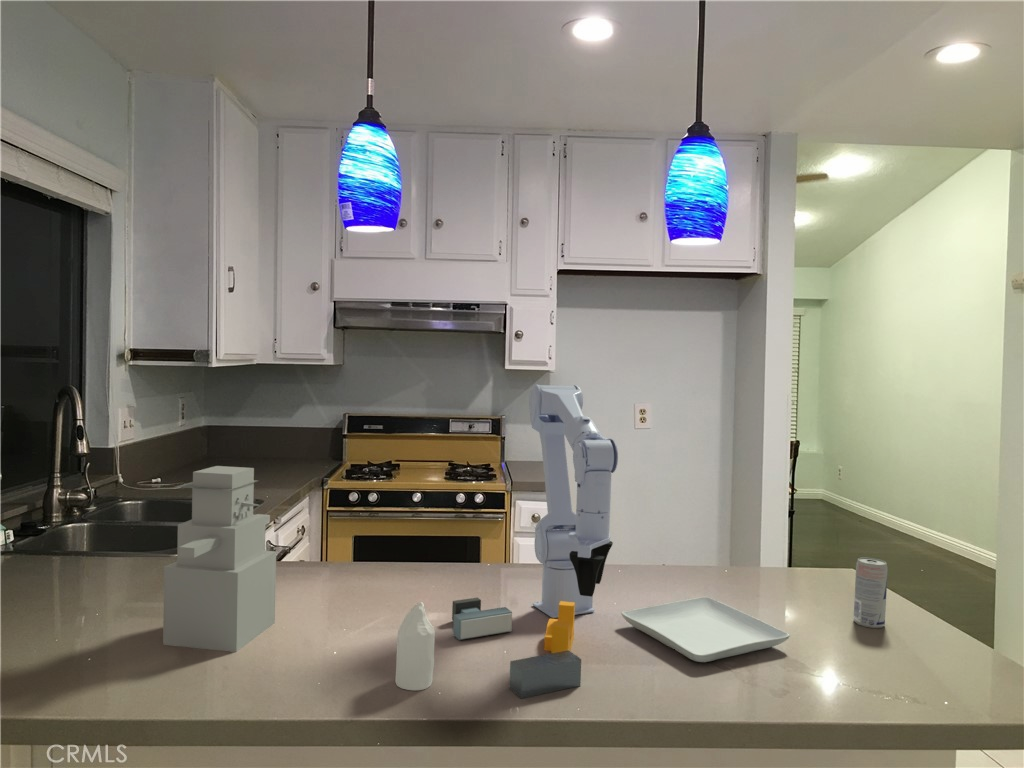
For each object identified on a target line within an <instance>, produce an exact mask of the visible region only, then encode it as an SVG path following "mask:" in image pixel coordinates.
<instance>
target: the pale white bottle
mask: <svg viewBox="0 0 1024 768" xmlns="http://www.w3.org/2000/svg"><path fill="white" fill-rule="evenodd" d="M435 632H436V629H435V627H434V626H433V625H432V624H431V622H430V620H429V618H428V617H427V613H426V610H425V605H424V602H422V601H421V602H418V603H417V604H415V605H413V607H412V608H411V609H410V611H408V613H406V614H405V616H404V618H403V620H402V622H401V624H400V626H399V628H398V630H397V639H396V642H397V643H396V658H395V659H396V663H395V666H396V667H395V684H396V686H397V687H398V688H400V689H403V690H407V691H423V690H427V689H428V688H430V687H431V686H432V684H433V673H434V666H435V639H436V636H435V634H436V633H435Z"/></svg>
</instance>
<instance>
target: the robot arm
mask: <svg viewBox="0 0 1024 768" xmlns="http://www.w3.org/2000/svg"><path fill="white" fill-rule="evenodd" d="M583 395H584V394H583V391H582V389H581V388H580V387H579V385H577V384H575V385H551V384H550V385H545V384H543V385H540V384H538V383H537V384H534V385H533V386H532V387H531V389H530V392H529V400H528V409H529V419H530V423H531V428H532V429H533V430H535V431H536V432H538V433H539V438H540V443H541V455H542V463H543V474H544V487H545V496H546V497H545V499H546V506H547V507H546V509H547V513H546V515H544V516H543V517H542V518H541V519H540V520H538V522H537V523H536V526H535V527H534V535H535V536H534V552H535V553H534V554H535V557H536V560H537V561H538V562H539V563H540V564H542V579H541V580H542V581H541V584H542V585H541V601H537V602H532V606H534V608H536V609H538V610H540V611H541V612H543V614H546V615H547V616H549V617H550V618H551V619H558V614H559V603H560V601H565V602H575V616H576V615H577V616H578V615H583V614H588V613H594V612H595V608H594V607H593V602H594V601H593V596H594V594H595V589H596V585H600V584H601V582H602V579H603V573H604V568H605V564H606V560H607V558H608V555H609V553H610V550H611V549H612V547H613V544H614V542H613V541H611V536H610V524H611V523H610V521H611V501H612V500H611V498H612V495H611V494H612V474H614V473H615V472H616V470H617V466H618V462H619V452H618V448H617V447H618V446H617V444H616V442H615V440H614V438H608V437H604V436H603V435H602V433H601V431H600V430H599V429H598V427H597V425H596V423H595V422H594V420H593V419H592V418H590V417H589V416H588V415H584V413H583V410H582V409H583V405H584V396H583ZM565 438H566V441H567V442H568V444H569V446H570V448H571V450H572V452H573V453H572V460H573V461H572V463H573V467H574V469H573V470H574V481H575V483H576V507H575V508H576V509H575V510H576V511H575V512H573V508H572V507H573V506H572V497H571V489H570V480H569V478H570V477H569V471H568V470H569V468H568V467H569V466H568V460H567V459H568V458H567V451H566V441H565Z"/></svg>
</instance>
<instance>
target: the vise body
mask: <svg viewBox="0 0 1024 768" xmlns="http://www.w3.org/2000/svg"><path fill="white" fill-rule="evenodd" d="M509 663H510V664H509V689H510V690H511V691H512V692H513V693H514V694H516V696H517V697H518V698H520V699H526V698H530V697H531V698H532V697H535V696H540V695H546V694H548V693H554V692H558V691H562V690H567V689H572V688H577V687H580V686H581V681H582V678H581V677H582V675H581V674H582V659H581V658H580V657H578V656H577V655H576V654H574V653H573V652H572V651H571V652H570V651H569V650H567V651H562V652H557V653H551V652H550V653H547V654H542V655H535V656H530V657H526V658H521V659H516V660H515V659H514V660H510V662H509Z"/></svg>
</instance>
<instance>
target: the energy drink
mask: <svg viewBox="0 0 1024 768" xmlns="http://www.w3.org/2000/svg"><path fill="white" fill-rule="evenodd" d="M888 573H889V572H888V564H887V562H886V561H885V560H882V559H878V558H874V557H859V558H857V561H856V563H855V580H854V581H855V582H854V583H855V584H854V601H853V602H854V605H853V620H854V622H855V623H856V624H857V625H859V626H862V627H866V628H869V629H881V628H883V627H884V626H885V625H886V610H887V609H886V608H887V591H888V589H887V588H888Z"/></svg>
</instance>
